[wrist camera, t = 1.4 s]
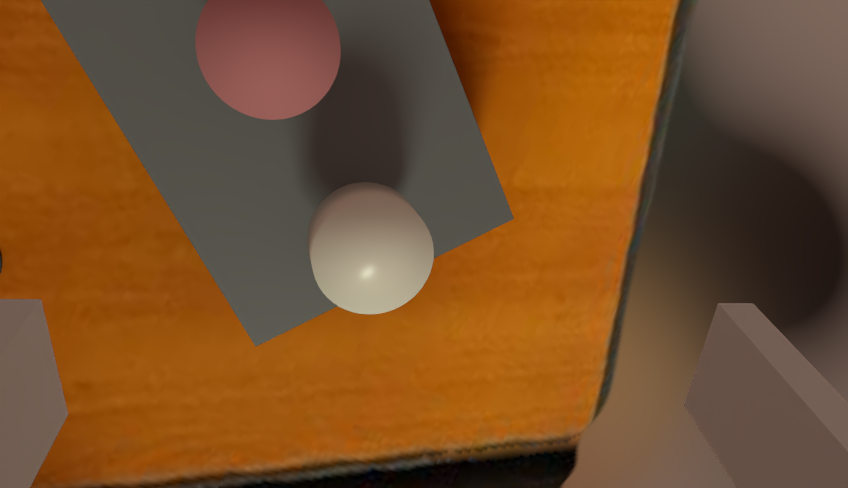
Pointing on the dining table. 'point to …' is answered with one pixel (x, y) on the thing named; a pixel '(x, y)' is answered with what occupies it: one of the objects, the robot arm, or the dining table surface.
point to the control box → (289, 141)
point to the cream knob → (369, 248)
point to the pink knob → (268, 54)
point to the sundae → (0, 263)
